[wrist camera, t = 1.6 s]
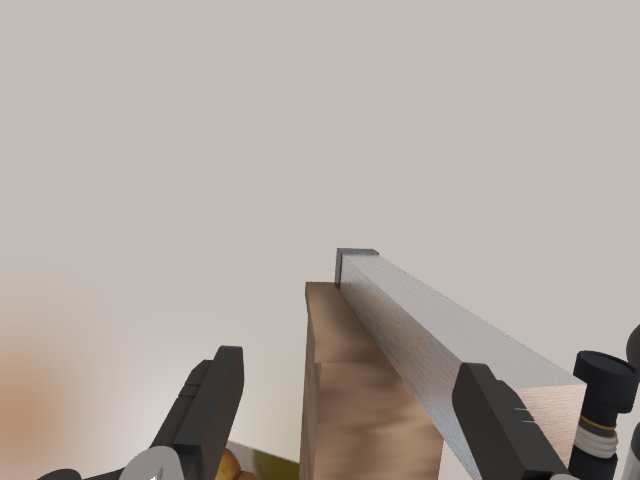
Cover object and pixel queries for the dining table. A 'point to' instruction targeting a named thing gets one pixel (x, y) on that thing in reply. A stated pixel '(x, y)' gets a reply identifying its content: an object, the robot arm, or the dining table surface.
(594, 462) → the wine bottle
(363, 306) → the aluminium bar
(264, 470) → the dining table surface
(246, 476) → the bread roll
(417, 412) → the walnut stand
